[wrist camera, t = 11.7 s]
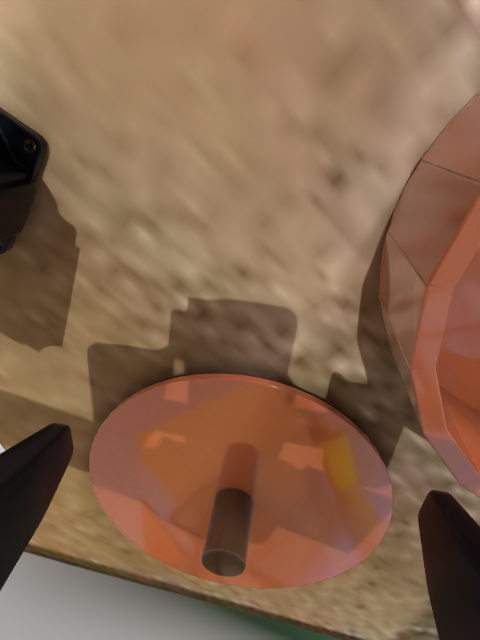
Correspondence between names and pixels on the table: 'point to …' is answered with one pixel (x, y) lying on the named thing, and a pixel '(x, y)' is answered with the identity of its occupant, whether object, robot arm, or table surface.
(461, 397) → the pot
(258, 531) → the lid
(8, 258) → the table surface
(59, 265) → the table surface
